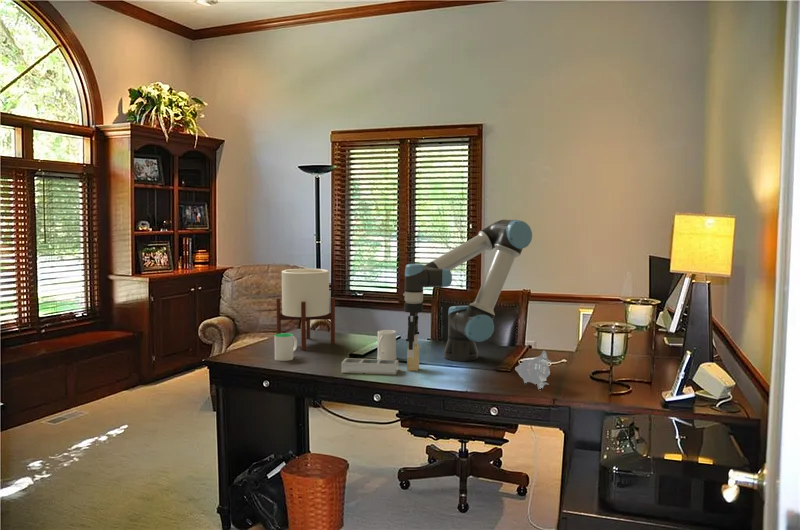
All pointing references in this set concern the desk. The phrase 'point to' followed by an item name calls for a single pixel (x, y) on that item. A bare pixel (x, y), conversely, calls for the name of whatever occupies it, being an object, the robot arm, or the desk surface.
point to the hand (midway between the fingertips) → (412, 353)
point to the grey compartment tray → (369, 366)
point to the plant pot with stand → (305, 300)
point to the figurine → (535, 370)
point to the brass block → (414, 360)
